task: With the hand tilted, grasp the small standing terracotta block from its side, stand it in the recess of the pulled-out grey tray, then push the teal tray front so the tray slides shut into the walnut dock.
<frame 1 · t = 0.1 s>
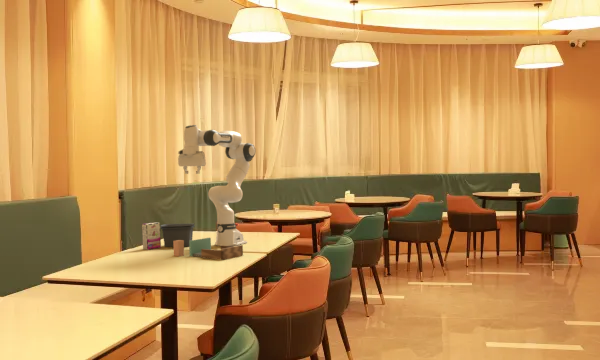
hand: (192, 173, 402), 48 cm above the table, tool pointing down, fingers open, 8 cm apart
dock: (222, 256, 377), on the table
terracotta block: (178, 255, 384), on the table
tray: (209, 247, 382), point 5 cm above the table, slide at 8.0 cm
candy bar box: (151, 248, 417), on the table
storage bin: (178, 246, 429), on the table
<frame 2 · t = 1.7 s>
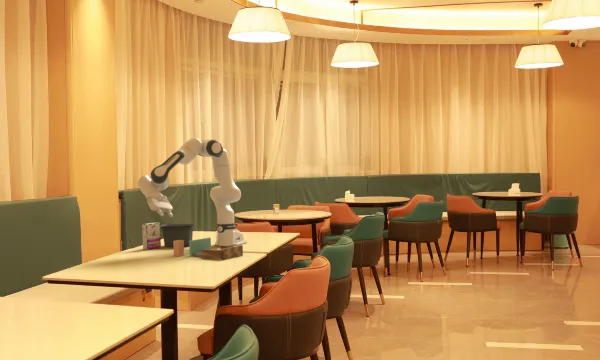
hand: (167, 216, 389), 23 cm above the table, tool tilted 40°, fingers open, 8 cm apart
nothing on the table moved.
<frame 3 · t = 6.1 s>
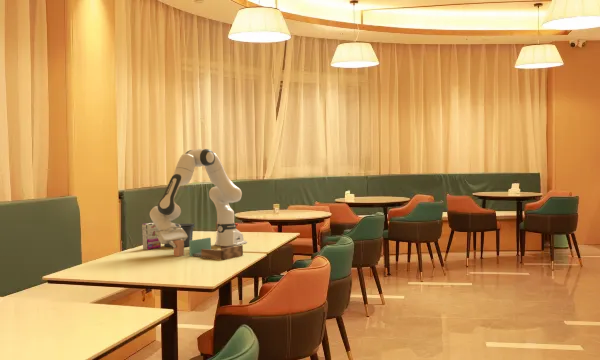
hand: (179, 246, 384), 5 cm above the table, tool tilted 45°, fingers closed on terracotta block, 4 cm apart
terracotta block: (178, 255, 384), on the table, touching gripper
everything else where it was.
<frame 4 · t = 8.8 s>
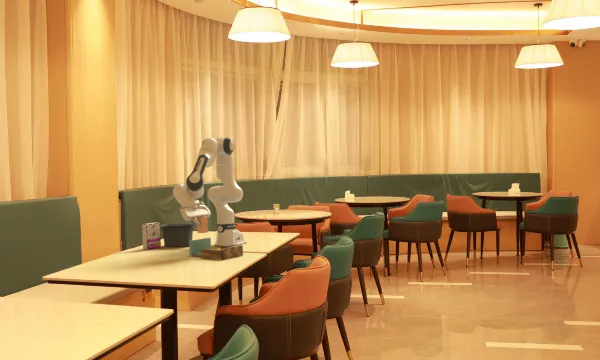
hand: (203, 223, 382), 19 cm above the table, tool tilted 45°, fingers closed on terracotta block, 4 cm apart
terracotta block: (202, 232, 382), point 14 cm above the table, touching gripper
everything else where it was.
when the fingers open (8 cm above the table, at t = 11.7 s): terracotta block stays where it is, resting on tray.
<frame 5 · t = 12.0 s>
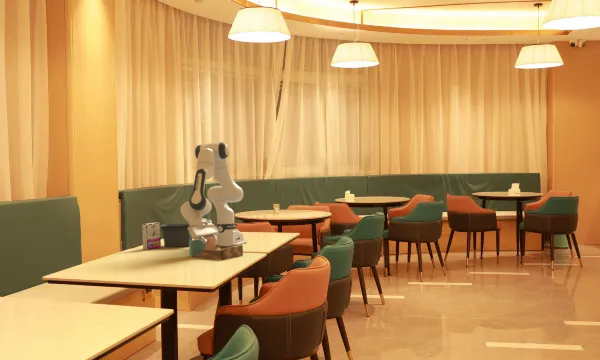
hand: (211, 242, 382), 8 cm above the table, tool tilted 45°, fingers open, 7 cm apart
terracotta block: (210, 252, 382), point 2 cm above the table, touching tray
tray: (209, 247, 382), point 5 cm above the table, slide at 8.0 cm, touching terracotta block
everything else where it was.
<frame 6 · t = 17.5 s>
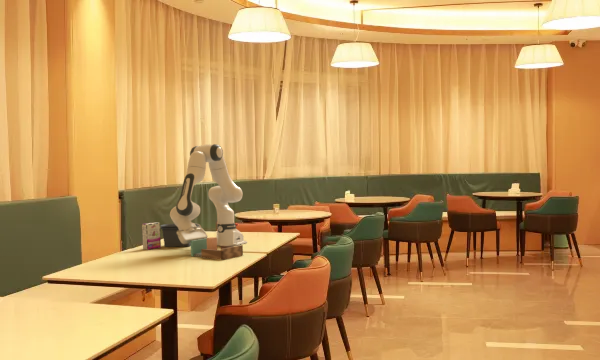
hand: (199, 246, 387), 5 cm above the table, tool tilted 45°, fingers closed, pressing on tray
terracotta block: (212, 252, 381), point 2 cm above the table, touching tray
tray: (211, 247, 382), point 5 cm above the table, slide at 6.9 cm, touching gripper, terracotta block
everything else where it was.
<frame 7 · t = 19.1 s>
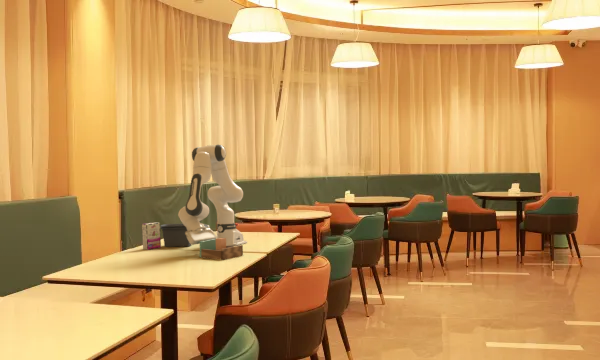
hand: (208, 247, 383), 5 cm above the table, tool tilted 45°, fingers closed, pressing on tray
terracotta block: (221, 253, 378), point 2 cm above the table, touching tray
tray: (220, 248, 378), point 5 cm above the table, slide at -0.1 cm, touching gripper, terracotta block
everything else where it was.
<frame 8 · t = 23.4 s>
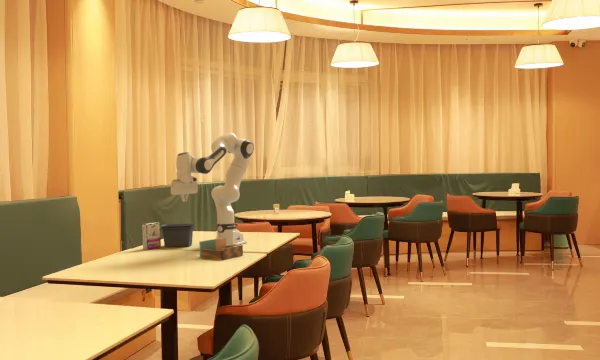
hand: (184, 201, 396), 31 cm above the table, tool pointing down, fingers closed
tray: (219, 248, 378), point 5 cm above the table, slide at 0.0 cm, touching terracotta block
everything else where it was.
at the end: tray slide at 0.0 cm; terracotta block inside the target area on the dock (0.8 cm from its centre), point 1.6 cm above the dock's base; terracotta block tilted 0° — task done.
